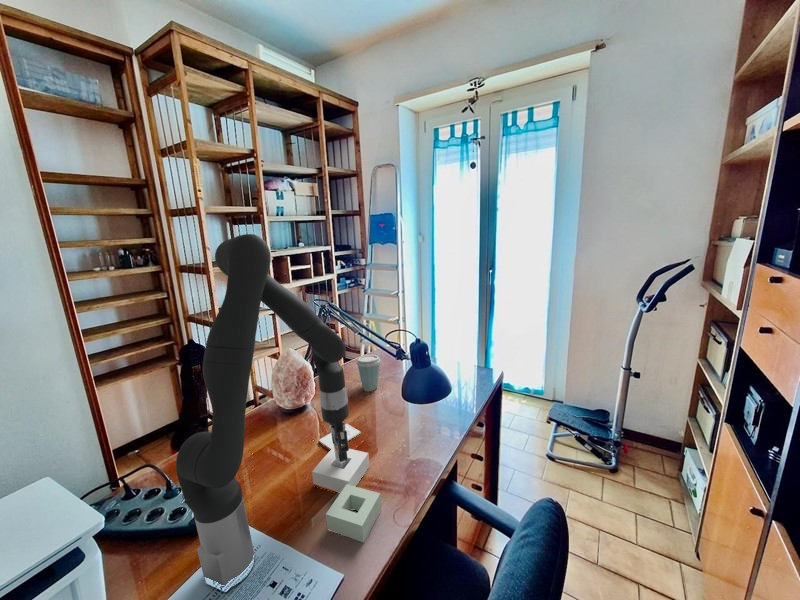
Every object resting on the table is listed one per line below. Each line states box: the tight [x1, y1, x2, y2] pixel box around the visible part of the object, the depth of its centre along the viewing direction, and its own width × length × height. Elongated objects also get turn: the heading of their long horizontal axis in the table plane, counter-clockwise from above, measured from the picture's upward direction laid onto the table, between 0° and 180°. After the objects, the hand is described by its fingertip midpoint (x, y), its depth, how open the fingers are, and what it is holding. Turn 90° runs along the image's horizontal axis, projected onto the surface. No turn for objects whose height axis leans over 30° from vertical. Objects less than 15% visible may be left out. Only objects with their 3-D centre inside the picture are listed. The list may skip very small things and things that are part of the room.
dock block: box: [311, 447, 371, 492], centre depth 100 cm, size 12×12×5 cm
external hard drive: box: [317, 423, 362, 449], centre depth 119 cm, size 2×8×12 cm
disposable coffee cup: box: [356, 354, 381, 392], centre depth 151 cm, size 11×11×15 cm
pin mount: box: [325, 484, 382, 543], centre depth 85 cm, size 10×10×5 cm
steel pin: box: [334, 443, 347, 469], centre depth 100 cm, size 3×3×11 cm
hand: (339, 451), depth 99 cm, fingers open, 8 cm apart
